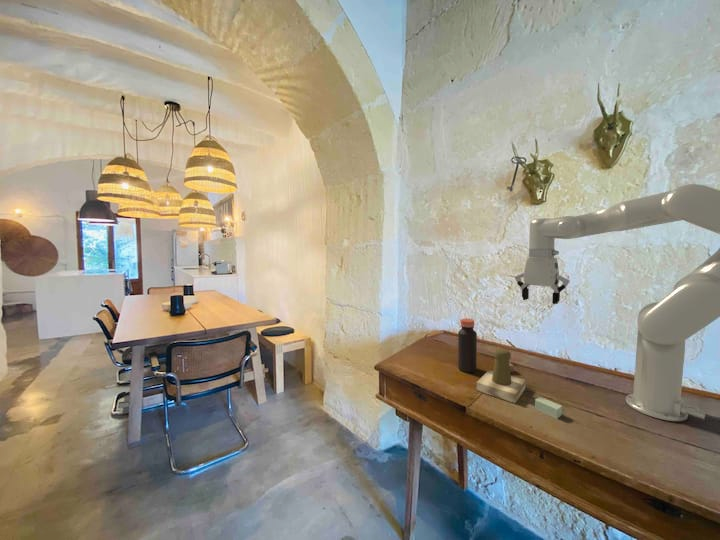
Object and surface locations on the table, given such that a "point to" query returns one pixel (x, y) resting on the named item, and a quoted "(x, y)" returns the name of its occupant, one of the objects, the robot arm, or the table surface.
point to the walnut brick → (511, 368)
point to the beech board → (501, 387)
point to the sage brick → (548, 407)
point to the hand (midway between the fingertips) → (539, 301)
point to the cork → (502, 367)
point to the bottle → (467, 347)
